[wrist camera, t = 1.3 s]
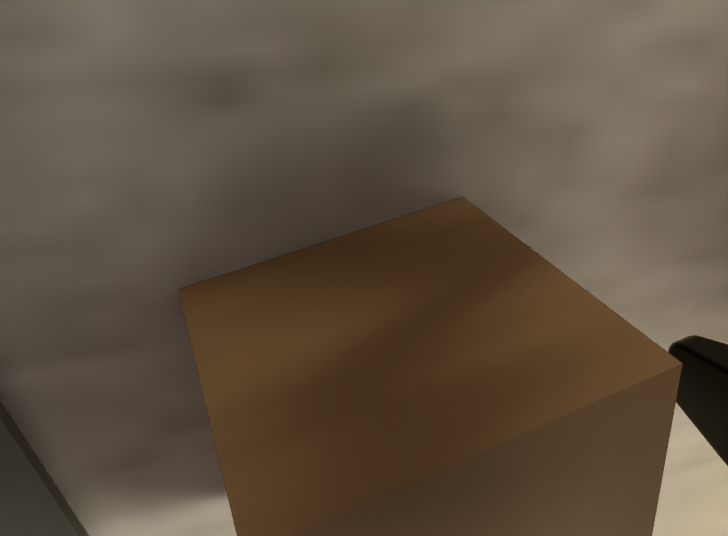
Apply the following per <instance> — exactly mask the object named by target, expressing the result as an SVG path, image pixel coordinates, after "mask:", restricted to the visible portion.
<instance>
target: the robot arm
mask: <svg viewBox="0 0 728 536" xmlns="http://www.w3.org/2000/svg"><path fill="white" fill-rule="evenodd" d="M668 353H669V354H671V355H672V356H673V357H674V358H676V359H677V360H678V361H680V362H681V363H682V369H681V374H680V380H679V386H678V391H677V397H676V403H677V404H678V405H679V406H680V408H681V409H682V410H683V411H684V413H685V414H686V415H687V416H688V418H689V419H690V420H691V421H692V423H693V424H694V425H695V426H696V427H697V429H698V430H699V431H700V432H701V434H702V435H703V436H704V437H705V439H706V440H707V441H708V442H709V444H710V445H711V446H712V447H713V449H714V450H715V451H716V452H717V454H718V455H719V456H720V457H721V458H722V460H723V461H724V462H725V463H726V464H727V466H728V344H724V343H721V342H717V341H714V340H711V339H707V338H704V337H700V336H688V337H686V338H683V339H681V340H679V341H676V342H674V343H672V344H671V346H670V347H669V350H668Z"/></svg>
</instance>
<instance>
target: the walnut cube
mask: <svg viewBox="0 0 728 536" xmlns="http://www.w3.org/2000/svg"><path fill="white" fill-rule="evenodd" d="M178 291H179V295H180V299H181V304H182V308H183V312H184V316H185V320H186V324H187V329H188V333H189V337H190V341H191V345H192V350H193V354H194V358H195V362H196V366H197V370H198V375H199V379H200V383H201V387H202V391H203V395H204V400H205V404H206V408H207V412H208V416H209V421H210V425H211V429H212V433H213V437H214V441H215V446H216V450H217V454H218V458H219V462H220V467H221V471H222V475H223V479H224V483H225V487H226V492H227V496H228V500H229V504H230V508H231V512H232V517H233V521H234V525H235V529H236V533H237V536H652V532H653V527H654V521H655V515H656V510H657V504H658V498H659V493H660V487H661V482H662V476H663V470H664V465H665V459H666V453H667V448H668V442H669V436H670V431H671V425H672V420H673V414H674V408H675V403H676V397H677V391H678V386H679V380H680V374H681V369H682V363H681V362H680V361H678V360H677V359H676V358H674V357H673V356H672V355H671V354H669V353H668V352H667V351H665V350H664V349H663V348H661V347H660V346H659V345H657V344H656V343H655V342H653V341H652V340H651V339H649V338H648V337H647V336H646V335H644V334H643V333H642V332H640V331H639V330H638V329H636V328H635V327H634V326H632V325H631V324H630V323H628V322H627V321H626V320H624V319H623V318H622V317H621V316H619V315H618V314H617V313H615V312H614V311H613V310H611V309H610V308H609V307H607V306H606V305H605V304H603V303H602V302H601V301H599V300H598V299H597V298H595V297H594V296H593V295H592V294H590V293H589V292H588V291H586V290H585V289H584V288H582V287H581V286H580V285H578V284H577V283H576V282H574V281H573V280H572V279H570V278H569V277H568V276H567V275H565V274H564V273H563V272H561V271H560V270H559V269H557V268H556V267H555V266H553V265H552V264H551V263H549V262H548V261H547V260H545V259H544V258H543V257H541V256H540V255H539V254H538V253H536V252H535V251H534V250H532V249H531V248H530V247H528V246H527V245H526V244H524V243H523V242H522V241H520V240H519V239H518V238H516V237H515V236H514V235H513V234H511V233H510V232H509V231H507V230H506V229H505V228H503V227H502V226H501V225H499V224H498V223H497V222H495V221H494V220H493V219H491V218H490V217H489V216H488V215H486V214H485V213H484V212H482V211H481V210H480V209H478V208H477V207H476V206H474V205H473V204H472V203H470V202H469V201H468V200H466V199H465V198H464V197H460V198H457V199H454V200H451V201H448V202H445V203H442V204H439V205H436V206H433V207H430V208H427V209H423V210H420V211H417V212H414V213H411V214H408V215H405V216H402V217H399V218H396V219H393V220H390V221H387V222H383V223H380V224H377V225H374V226H371V227H368V228H365V229H362V230H359V231H356V232H353V233H350V234H347V235H343V236H340V237H337V238H334V239H331V240H328V241H325V242H322V243H319V244H316V245H313V246H310V247H307V248H303V249H300V250H297V251H294V252H291V253H288V254H285V255H282V256H279V257H276V258H273V259H270V260H267V261H264V262H260V263H257V264H254V265H251V266H248V267H245V268H242V269H239V270H236V271H233V272H230V273H227V274H224V275H220V276H217V277H214V278H211V279H208V280H205V281H202V282H199V283H196V284H193V285H190V286H187V287H184V288H180V289H178Z"/></svg>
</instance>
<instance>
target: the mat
mask: <svg viewBox="0 0 728 536" xmlns="http://www.w3.org/2000/svg"><path fill="white" fill-rule="evenodd" d="M0 536H89V535H88V534H87V532H86V531H85V529H84V528H83V526H82V525H81V523H80V522H79V520H78V519H77V517H76V516H75V514H74V513H73V511H72V510H71V508H70V507H69V505H68V504H67V502H66V501H65V499H64V498H63V496H62V495H61V493H60V491H59V490H58V488H57V487H56V485H55V484H54V482H53V481H52V479H51V478H50V476H49V475H48V473H47V472H46V470H45V469H44V467H43V466H42V464H41V463H40V461H39V460H38V458H37V457H36V455H35V454H34V452H33V451H32V449H31V448H30V446H29V445H28V443H27V442H26V440H25V438H24V437H23V435H22V434H21V432H20V431H19V429H18V428H17V426H16V425H15V423H14V422H13V420H12V419H11V417H10V416H9V414H8V413H7V411H6V410H5V408H4V407H3V405H2V404H1V402H0Z"/></svg>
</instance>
